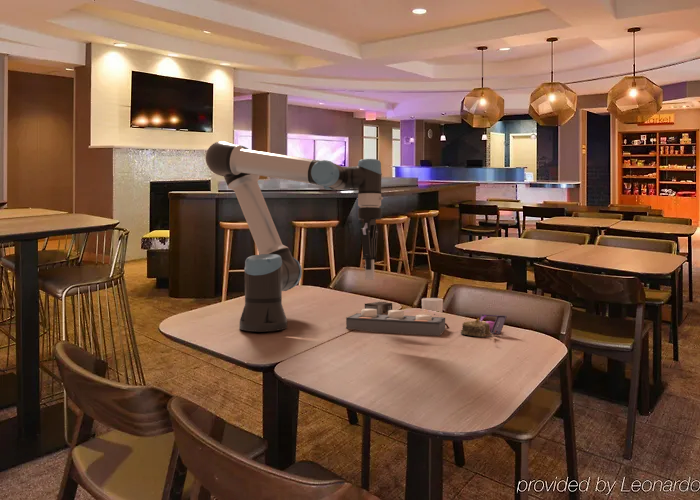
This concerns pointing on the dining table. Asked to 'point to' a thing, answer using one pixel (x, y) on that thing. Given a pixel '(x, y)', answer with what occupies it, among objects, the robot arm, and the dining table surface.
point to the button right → (424, 317)
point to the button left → (369, 313)
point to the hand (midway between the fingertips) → (369, 279)
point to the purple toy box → (495, 323)
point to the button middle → (396, 314)
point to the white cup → (432, 304)
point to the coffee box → (379, 306)
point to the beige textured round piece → (476, 328)
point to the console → (396, 324)
